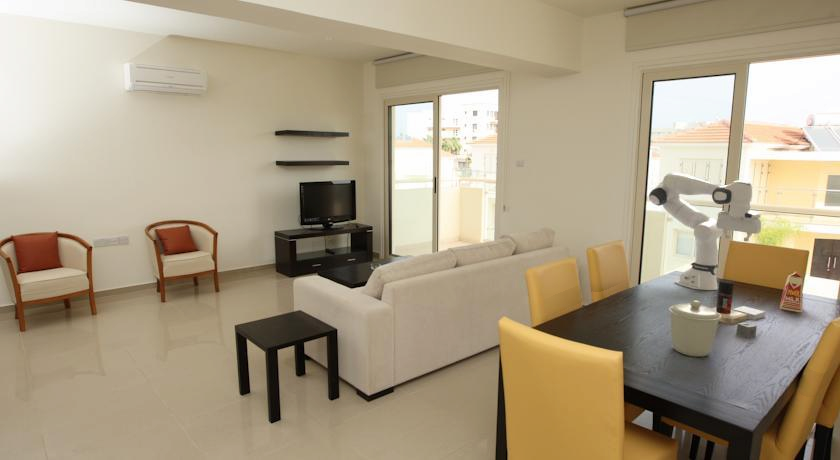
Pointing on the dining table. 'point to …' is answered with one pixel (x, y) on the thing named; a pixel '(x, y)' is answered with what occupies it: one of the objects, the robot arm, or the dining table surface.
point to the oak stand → (732, 317)
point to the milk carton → (792, 294)
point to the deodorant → (725, 297)
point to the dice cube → (746, 330)
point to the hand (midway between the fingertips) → (736, 239)
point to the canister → (693, 328)
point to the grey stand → (751, 312)
